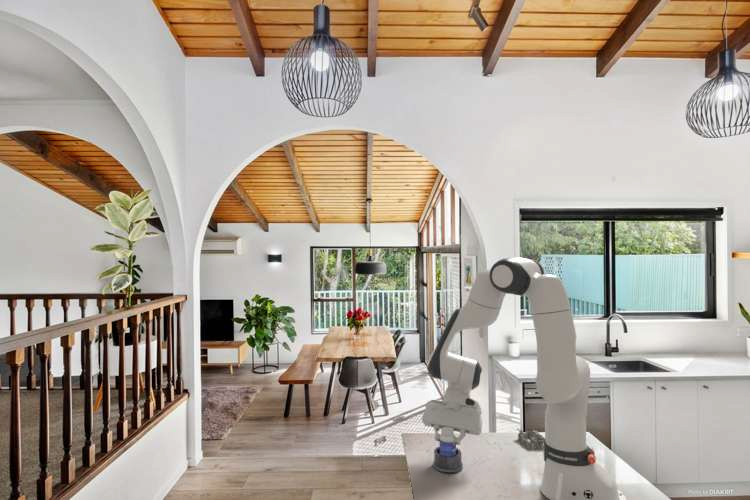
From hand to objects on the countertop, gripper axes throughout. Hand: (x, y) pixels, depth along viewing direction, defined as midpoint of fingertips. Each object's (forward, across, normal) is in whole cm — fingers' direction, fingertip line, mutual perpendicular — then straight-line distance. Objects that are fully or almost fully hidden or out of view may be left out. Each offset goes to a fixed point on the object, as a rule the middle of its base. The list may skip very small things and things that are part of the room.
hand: (447, 442), depth 144 cm
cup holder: (+5, 0, +6) cm, 8 cm away
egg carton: (-16, +22, +29) cm, 40 cm away
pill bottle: (+4, 0, +5) cm, 6 cm away
